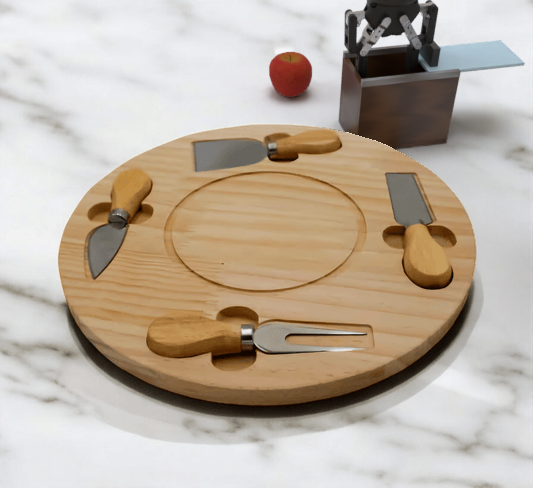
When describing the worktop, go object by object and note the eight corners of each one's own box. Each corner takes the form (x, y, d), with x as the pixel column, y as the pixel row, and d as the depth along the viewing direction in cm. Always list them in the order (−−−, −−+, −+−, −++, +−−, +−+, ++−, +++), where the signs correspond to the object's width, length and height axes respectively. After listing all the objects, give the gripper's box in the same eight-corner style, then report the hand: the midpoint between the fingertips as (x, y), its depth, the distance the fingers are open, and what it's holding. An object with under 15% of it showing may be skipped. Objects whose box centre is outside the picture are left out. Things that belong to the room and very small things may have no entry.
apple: (301, 107, 117) (302, 67, 112) (262, 98, 120) (261, 59, 115) (317, 88, 123) (319, 48, 117) (279, 80, 125) (279, 41, 120)
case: (423, 110, 116) (434, 41, 107) (446, 143, 108) (460, 70, 99) (338, 120, 114) (343, 50, 105) (355, 154, 106) (362, 81, 97)
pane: (500, 42, 108) (504, 22, 106) (524, 65, 102) (529, 44, 100) (410, 52, 106) (413, 31, 104) (429, 75, 100) (433, 54, 98)
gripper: (354, -20, 89) (348, 89, 100) (454, -32, 90) (438, 77, 101) (339, -39, 94) (336, 67, 105) (433, -49, 96) (420, 56, 107)
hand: (386, 72), depth 103 cm, fingers open, 7 cm apart
